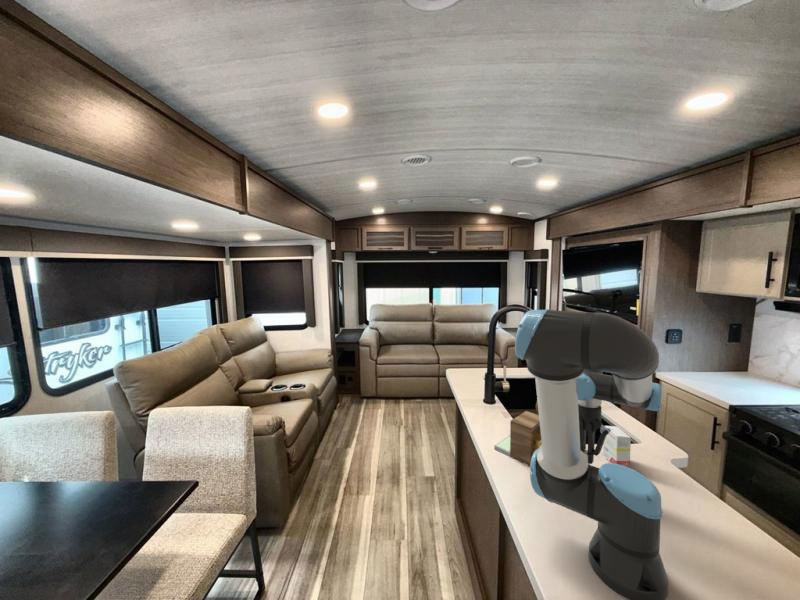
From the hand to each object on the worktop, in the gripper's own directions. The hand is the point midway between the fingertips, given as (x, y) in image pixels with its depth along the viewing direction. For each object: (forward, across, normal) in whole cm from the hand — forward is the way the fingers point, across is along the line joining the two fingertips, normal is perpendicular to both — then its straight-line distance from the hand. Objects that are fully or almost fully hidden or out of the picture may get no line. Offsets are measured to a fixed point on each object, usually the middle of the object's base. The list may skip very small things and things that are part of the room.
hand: (586, 470), depth 104 cm
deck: (+4, +20, 0) cm, 21 cm away
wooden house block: (+4, +20, 0) cm, 21 cm away
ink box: (+4, -4, -20) cm, 20 cm away
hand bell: (+4, +24, -18) cm, 30 cm away
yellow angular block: (+2, +12, 0) cm, 12 cm away
